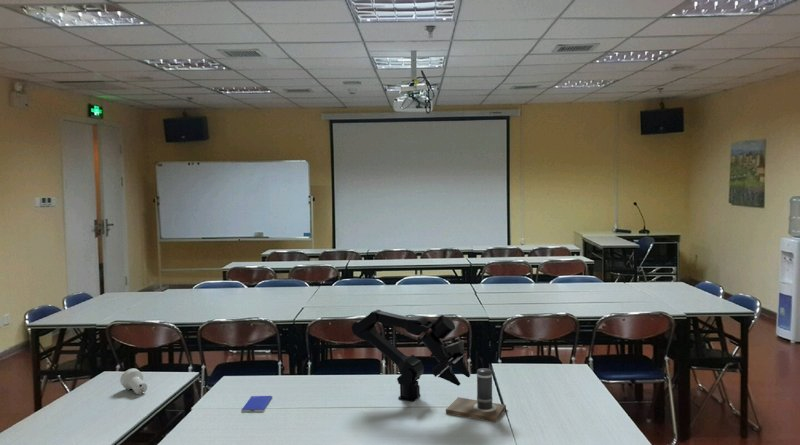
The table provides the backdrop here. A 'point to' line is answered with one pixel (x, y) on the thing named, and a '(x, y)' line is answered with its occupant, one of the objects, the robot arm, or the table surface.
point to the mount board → (475, 410)
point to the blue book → (257, 404)
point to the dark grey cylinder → (484, 388)
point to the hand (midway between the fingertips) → (464, 380)
